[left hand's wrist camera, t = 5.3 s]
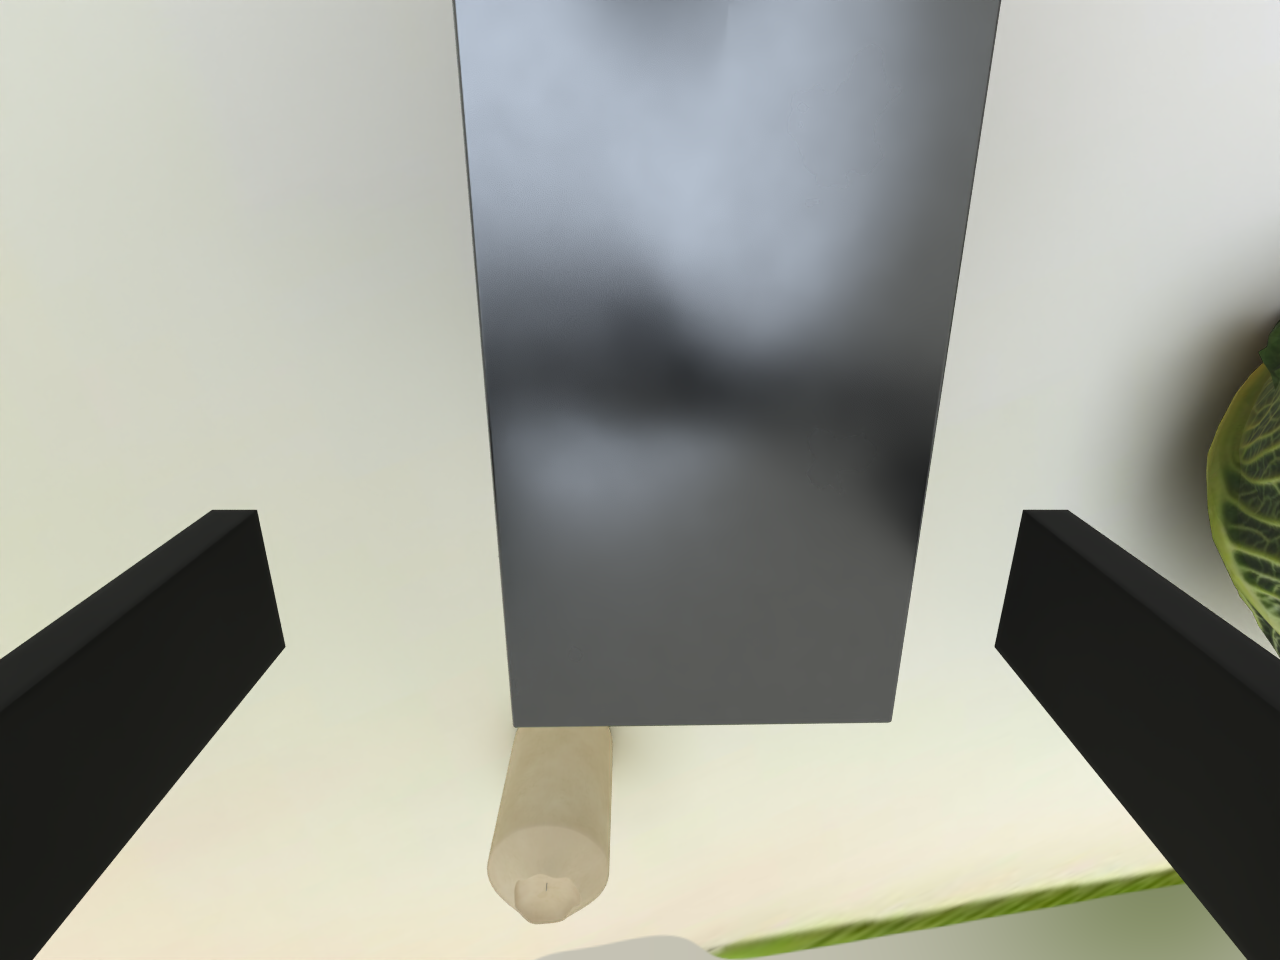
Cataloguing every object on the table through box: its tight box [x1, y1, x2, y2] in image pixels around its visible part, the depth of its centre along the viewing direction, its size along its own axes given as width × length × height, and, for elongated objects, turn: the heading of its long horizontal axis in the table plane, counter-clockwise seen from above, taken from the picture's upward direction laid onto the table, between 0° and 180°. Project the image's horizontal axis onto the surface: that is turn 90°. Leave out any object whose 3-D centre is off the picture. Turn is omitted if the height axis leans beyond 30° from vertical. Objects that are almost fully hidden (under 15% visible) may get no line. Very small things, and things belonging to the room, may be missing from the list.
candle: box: [487, 726, 612, 924], centre depth 36 cm, size 6×6×10 cm
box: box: [452, 0, 1001, 728], centre depth 15 cm, size 25×8×12 cm, turn 0°
